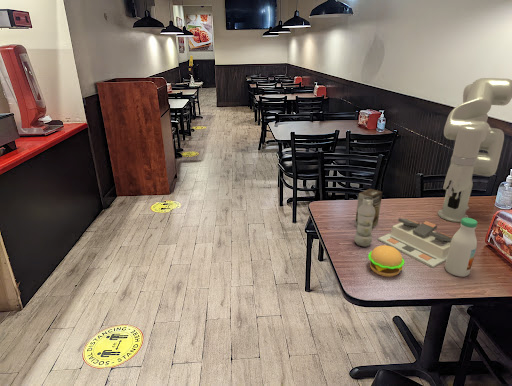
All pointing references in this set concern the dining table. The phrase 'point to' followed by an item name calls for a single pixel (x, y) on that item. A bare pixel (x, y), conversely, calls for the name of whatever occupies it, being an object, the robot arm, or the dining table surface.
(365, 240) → the plastic bottle
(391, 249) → the hamburger
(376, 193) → the coffee box
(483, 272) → the dining table surface
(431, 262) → the switch board
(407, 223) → the switch
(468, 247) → the milk bottle
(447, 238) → the switch
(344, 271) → the dining table surface
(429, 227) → the switch middle
